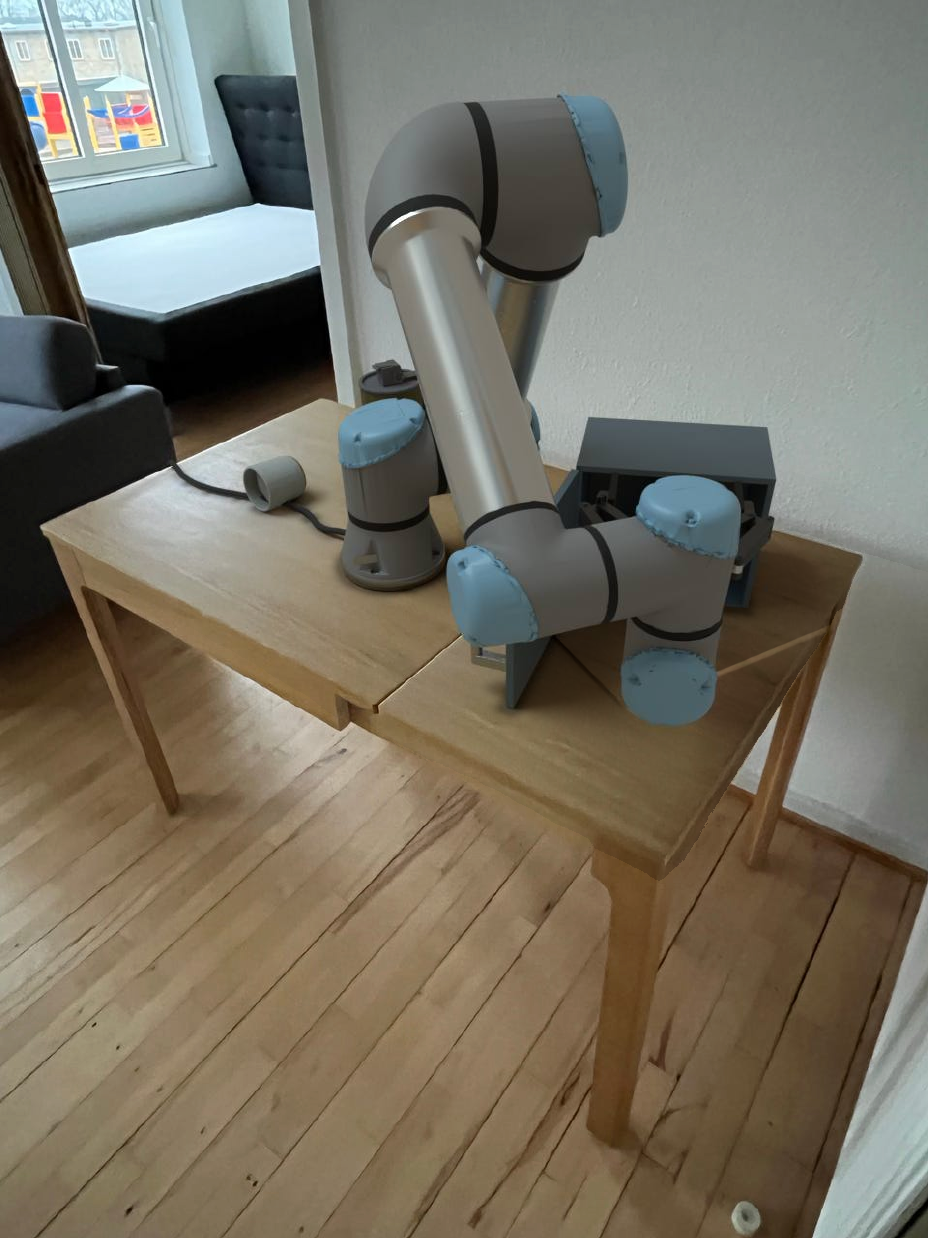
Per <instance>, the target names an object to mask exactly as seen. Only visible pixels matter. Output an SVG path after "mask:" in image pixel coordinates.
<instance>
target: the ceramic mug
mask: <svg viewBox="0 0 928 1238" xmlns="http://www.w3.org/2000/svg"><path fill="white" fill-rule="evenodd" d="M242 474H243V475H242V483H243V484H242V485H243V486H244V491H245V493H247V495H248V497H249V499H248V500H250V502H251V503H252V505H253V506H254V507H255V509H258V511H261V512H269V511H271V510H273V509H276V508H277V507H280V506H281V505H282V504H283V503H285V502H286V501H289V502H291V501H292V500H294V499H297V498H298V497H300V496H301V495H303V494H304V493H305V492H306V488H307V477H306V473H305V470H304V468H303V467H302V465H301V463H300V462H299V461H298V460H297V459H296V458H295V457H293V456H291V455H280V456H277V457H274V458H273V457H272V458H271V459H267V460H264V461H261V462H258V463H255V464H251V465H248V466H246V467H245V468H244V470H243V473H242ZM260 496H264V497H265V498H266V499H267V501H268V502H266V501H264V500H262V499H261V498H260Z"/></svg>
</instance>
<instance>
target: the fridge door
mask: <svg viewBox="0 0 928 1238" xmlns="http://www.w3.org/2000/svg"><path fill="white" fill-rule="evenodd" d="M578 483H579V470H576V468H575V469H574V468H573V469H571V470H570V471H569V473H568V474H567V475H566V477H565V478H564V480H563V482H562V483H561V484H560V486H559V487H558V489H557V491H556V492H555V493H554V494H553V496H554V499H555V502H556V505H557V508H558V513H559V515H560V518H561V520H562V523H563V526H564V528H565V529H574V528H576V518H577V501H578ZM552 636H553V635H550V636H546V637H542V638H538V639H535V640H534V641H531V642H525V643H524V642H519V643H512V644H506V645H505V654H503V653H500V652H495V651H491V650H487V649H484V647H483V648H482V647H476V646H473V645H471V644H470V643H469V645H470V662H471V664H472V665H476V666H479V667H484V668H487V669H491V670H495V671H500V672H504V673H505V707H506V708H510V709H515V707H516V705H517V703H518V701H519V700H520V698H521V696H522V694H523V692H524V690H525V688H526V686H527V684H528V682H529V680H530V678H531V676H532V675H533V673H534V671H535V669H536V667H537V665H538V664H539V662H540V659H541V657H542V655H543V653H544V652H545V649H546V648H547V646H548V644H549V642H550V641H551V638H552Z"/></svg>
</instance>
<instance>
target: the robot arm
mask: <svg viewBox="0 0 928 1238" xmlns="http://www.w3.org/2000/svg"><path fill="white" fill-rule="evenodd" d="M626 151H627V150H626V145H625V141H624V135H623V132H622V129H621V126H620V124H619V121H618V119H617V116H616V115H615V113H614V111H613V109H612V108H611V107H610V105H609V103H607V102H606V101H605V100H604V99H602V98H600V97H599V96H596V95H593V94H592V95H590V94H589V95H588V94H587V95H586V94H584V95H583V94H581V95H579V94H578V95H577V94H576V95H573V94H572V95H571V94H570V95H569V94H568V95H567V94H566V93H564V92H559V93H557V95H556V97H539V98H523V99H520V98H519V99H504V100H486V101H485V100H484V101H483V100H482V101H467V102H462V101H452V102H444V103H440V104H437V105H433V106H431V107H429V108H427V109H425V110H423V111H420V112H419V113H417V114H416V115H414V116H413V117H412V118H411V119H409V120H408V121H407V122H405V124H403V125H402V126H401V127H400V128H399V129H398V130H397V131H396V132H395V134H394V135H393V137H392V138H391V139H390V141H389V142H388V143H387V145H386V146H385V147H384V150H383V151H382V154H381V155H380V157H379V159H378V162H377V163H376V165H375V167H374V170H373V173H372V176H371V178H370V181H369V186H368V191H367V194H366V200H365V205H364V235H365V244H366V248H367V251H368V255H369V258H370V263H371V266H372V271H373V272H374V275H375V277H376V278H377V280H378V282H379V283H381V285H383V286H384V287H385V288H387V289H388V290H390V291H391V293H392V296H393V301H394V303H395V306H396V307H395V308H396V311H397V313H398V317H399V321H400V324H401V327H402V330H403V335H404V338H405V341H406V344H407V348H408V352H409V354H410V359H411V362H412V365H413V367H414V368H413V369H414V371H415V372H416V375H417V379H418V382H419V386H420V389H421V393H422V396H423V399H424V403H425V406H426V410H423V409H422V407H421V405H420V404H419V403H417V402H415V401H413V400H410V399H401V400H398V399H397V398H392V399H384V400H379V401H375V402H372V403H369V404H366V405H364V406H362V405H361V406H359V407H357V408H356V409H355V410H352V411H351V412H350V413H349V414H348V415H346V417H345V418H344V419H343V420H342V421H341V423H340V425H339V427H338V431H337V442H338V443H337V444H338V455H337V457H338V461H339V464H340V465H341V473H342V480H343V488H344V496H345V504H346V511H347V518H348V519H347V525H346V528H345V529H344V528H339V527H332V526H327V525H324V524H323V523H322V522H320V521H319V520H318V518H317V517H316V516H315V515H314V514H313V512H312V511H311V510H309V509H308V508H306V507H305V506H303V505H301V504H298V503H296V502H292V501H286V502H285V503H283V504H282V505H280V506H281V507H285V508H290V509H292V510H295V511H298V512H299V513H301V514H303V515H305V516H306V517H307V518H308V519H309V520H310V522H311V523H312V524H313V526H314V527H315V528H317V530H318V531H321V532H323V533H326V534H332V535H338V536H343V537H344V538H343V542H342V547H341V551H340V561H341V569H342V571H343V574H344V576H345V577H346V578H347V579H348V580H349V581H351V582H352V583H353V584H355V585H358V586H360V587H363V588H365V589H370V590H376V591H383V592H387V591H388V592H389V591H390V592H391V591H401V590H406V589H407V590H408V589H412V588H414V587H418V586H421V585H423V584H426V583H428V582H429V581H431V580H432V579H434V578H435V577H436V576H438V575H439V574H440V572H441V571H442V570H443V569H444V566H445V564H446V547H445V543H444V541H443V538H442V536H441V534H440V532H439V530H438V527H437V525H436V523H435V521H434V520H435V519H434V518H433V515H432V514H431V506H430V498H432V497H436V496H442V495H449V494H451V499H452V502H453V506H454V509H455V512H456V515H457V519H458V521H459V527H460V529H461V532H462V533H461V534H462V536H463V541H464V543H465V547H464V548H463V549H459V550H456V551H455V552H453V553H452V554H451V555H450V557H449V558H448V560H447V564H446V585H447V591H448V595H449V600H450V607H451V611H452V616H453V619H454V621H455V624H456V626H457V629H458V631H459V633H460V634H461V636H462V637H463V639H464V640H465V642H467V643H468V644H469V645H470V644H471V645H473V646H476V647H482V648H483V649H484V648H492V647H499V646H506V644H512V643H519V642H524V643H525V642H531V641H534V640H535V639H538V638H542V637H546V636H550V635H552V636H553V635H559V634H563V633H566V632H571V631H574V630H578V629H582V628H587V627H591V626H596V625H602V624H606V623H607V624H608V623H612V622H616V621H622V620H626V629H625V638H624V647H623V657H622V662H621V666H620V675H619V676H620V679H621V689H620V691H621V697H622V699H623V702H624V703H625V705H626V706H627V709H629V711H630V712H631V713H633V714H634V715H635V716H636V717H638V718H639V719H640V720H642V721H645V722H647V723H649V724H653V725H655V726H656V725H659V726H667V727H680V726H685V725H689V724H692V723H694V722H696V721H698V720H699V719H701V718H702V717H704V715H706V714H707V713H708V712H709V710H710V709H711V708H712V706H713V703H714V701H715V697H716V685H717V681H718V677H719V676H718V671H716V664H717V663H716V661H717V660H716V659H717V653H718V647H719V643H720V637H721V633H722V632H721V631H722V627H723V622H724V617H723V616H724V606H725V605H724V603H725V598H726V594H727V590H728V586H729V581H730V579H732V580H740V579H741V577H742V572H743V568H744V567H745V566H746V565H747V564H748V562H749V561H750V560H751V559H752V558H753V557H754V556H755V555H756V554H757V553H758V552H759V551H760V550H762V549H763V548H764V547H765V546H766V545H767V544H768V542H770V540H771V538H772V534H773V533H772V532H773V530H774V524H775V520H776V518H775V517H774V516H773V515H766V516H763V517H762V518H760V517H757V516H756V513H755V511H754V503H753V502H752V501H744V498H743V488H742V481H735V482H734V488H733V493H732V492H731V491H729V490H727V488H726V487H725V486H724V485H722V484H720V483H718V482H716V481H713V480H710V479H707V478H703V477H697V476H688V475H679V476H669V477H665V478H661V479H658V480H657V481H656V482H655V483H654V484H650V485H648V486H647V487H646V488H645V489H644V490H643V492H642V494H641V497H640V501H639V504H638V506H637V509H636V514H637V515H636V516H634V517H631V518H629V517H628V516H626V515H625V514H623V513H622V512H621V511H619V510H618V509H616V508H615V502H616V496H617V486H618V475H619V473H615V472H612V476H611V482H610V488H609V491H600V492H599V493H598V495H597V499H596V504H595V505H590V504H589V503H587V502H581V503H580V504H579V514H578V525H579V526H580V527H578V528H574V529H565V528H564V526H563V523H562V520H561V518H560V515H559V513H558V508H557V505H556V502H555V499H554V493H553V490H552V487H551V484H550V481H549V478H548V475H547V472H546V469H545V466H544V463H543V460H542V456H541V453H540V450H541V447H540V445H539V442H540V441H541V427H540V421H539V416H538V414H537V411H536V409H535V407H534V405H533V404H532V403H531V402H530V400H529V399H528V398H527V397H528V393H529V391H530V387H531V383H532V380H533V377H534V374H535V370H536V366H537V364H538V359H539V356H540V354H541V353H540V352H541V349H542V346H543V343H544V340H545V336H546V332H547V329H548V326H549V322H550V319H551V315H552V312H553V310H554V309H553V308H554V305H555V302H556V298H557V295H558V292H559V288H560V285H561V282H562V280H563V279H565V278H567V277H569V276H570V275H571V274H573V273H574V272H575V271H576V270H577V269H578V268H579V266H580V265H581V264H582V262H583V259H584V256H585V253H586V250H587V247H588V244H589V241H590V239H591V238H592V237H597V238H599V239H600V238H601V239H602V238H605V237H606V235H609V234H612V233H615V232H616V231H617V230H618V228H619V227H620V226H621V224H622V222H623V219H624V216H625V213H626V208H627V202H628V195H629V194H628V192H629V168H628V160H627V159H628V158H627V152H626ZM478 258H480V260H481V261H480V267H479V264H478V262H477V261H478ZM165 466H166V467H168V468H171V467H172V469H173V470H174V471H175V473H176V475H178V476H179V477H180V478H182V479H183V480H184V481H185V482H187V483H189V484H190V485H192V486H195V487H196V488H199V489H202V490H204V491H208V492H211V493H214V494H219V495H222V496H223V495H225V496H229V497H235V498H239V499H246V500H250V499H249V497H248V495H247V493H246V492H245V491H244V492H243V491H238V490H233V489H227V488H222V487H217V486H213V485H210V484H206V483H204V482H201V481H199V480H196V479H194V478H192V477H191V476H189V475H188V474H186V473H185V472H184V471H183V470H182V469H181V468H180V466H179V465H178V463H177V462H176V461H175V460H174V459H169V460H167V461H166V465H165ZM260 498H261V499H262V500H264V501H266V502H268V501H267V499H266V498H265V497H264V496H260ZM760 552H761V551H760ZM471 645H470V646H471Z"/></svg>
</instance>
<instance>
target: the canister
mask: <svg viewBox="0 0 928 1238" xmlns="http://www.w3.org/2000/svg"><path fill="white" fill-rule="evenodd" d="M371 368H372V369H373V370H372V371H370V372H367V373H365V374H363V375H361V377H360V378H359V379H358V381H357V385H358V387H359V389H360V390H359V391H360V400H361V407H362V406H364V405H366V404H369V403H372V402H375V401H379V400H384V399H392V398H397V399H398V400H401V399H410V400H413V401H415V402H417V403H419V404H420V405H421V407H422V409H423V410H426V406H425V403H424V399H423V396H422V393H421V389H420V386H419V382H418V379H417V375H416V372H415V370H411V369H408V368H402V366H401V365H400V364H399V363H398V362H397V361H396V360H395V359H394V358H393V359H387V360H385V361H381V362H376V363H374V364H372V366H371Z"/></svg>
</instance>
